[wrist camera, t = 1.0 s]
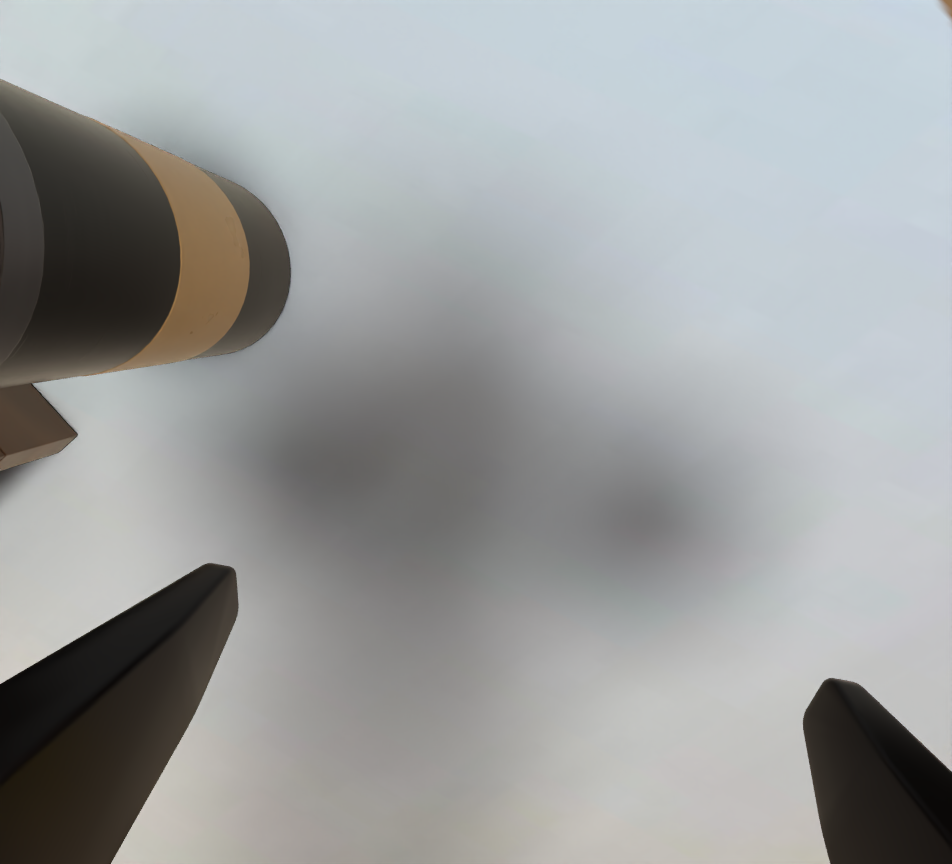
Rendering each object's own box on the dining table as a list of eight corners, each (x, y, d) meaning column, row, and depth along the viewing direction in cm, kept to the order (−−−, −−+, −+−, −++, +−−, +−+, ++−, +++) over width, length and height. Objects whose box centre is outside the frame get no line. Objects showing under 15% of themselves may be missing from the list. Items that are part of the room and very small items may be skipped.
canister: (258, 385, 23) (-52, 476, 11) (97, 314, 23) (-408, 320, 11) (319, 217, 22) (47, 93, 9) (149, 141, 22) (-359, -90, 9)
